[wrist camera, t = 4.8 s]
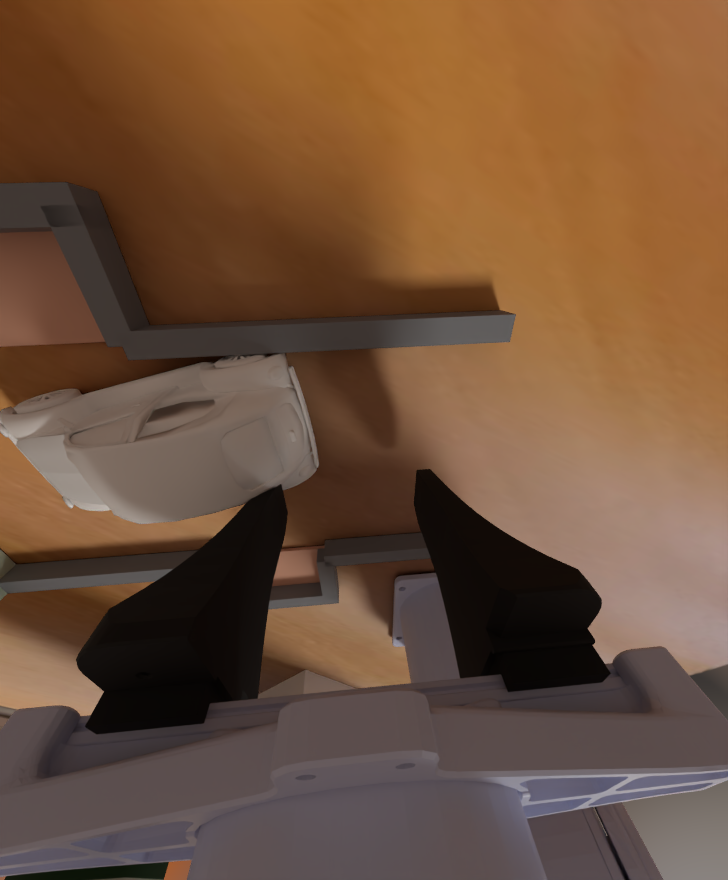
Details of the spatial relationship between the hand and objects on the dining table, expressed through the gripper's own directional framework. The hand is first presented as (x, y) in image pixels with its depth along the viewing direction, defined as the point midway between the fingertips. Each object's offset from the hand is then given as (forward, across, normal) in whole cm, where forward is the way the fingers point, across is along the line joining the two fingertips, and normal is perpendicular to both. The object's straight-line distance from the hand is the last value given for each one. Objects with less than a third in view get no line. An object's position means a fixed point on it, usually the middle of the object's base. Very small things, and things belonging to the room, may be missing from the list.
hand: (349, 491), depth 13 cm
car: (+3, +8, -3) cm, 8 cm away
